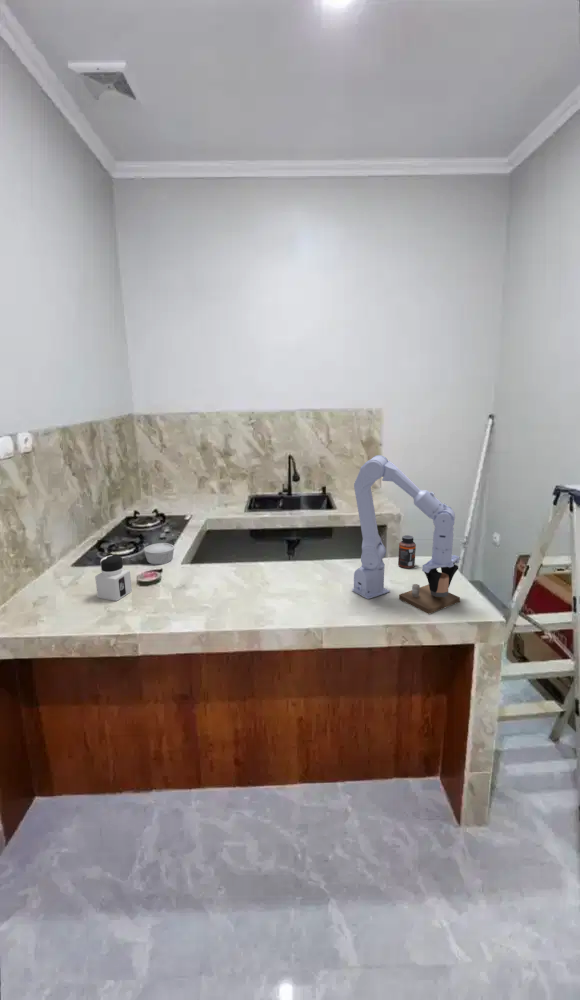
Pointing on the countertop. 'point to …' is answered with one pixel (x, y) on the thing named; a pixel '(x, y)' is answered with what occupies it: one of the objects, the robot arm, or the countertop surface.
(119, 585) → the container
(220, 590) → the countertop surface
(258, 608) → the countertop surface
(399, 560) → the supplement bottle
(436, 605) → the pin board
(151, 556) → the ramekin
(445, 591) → the sleeve
